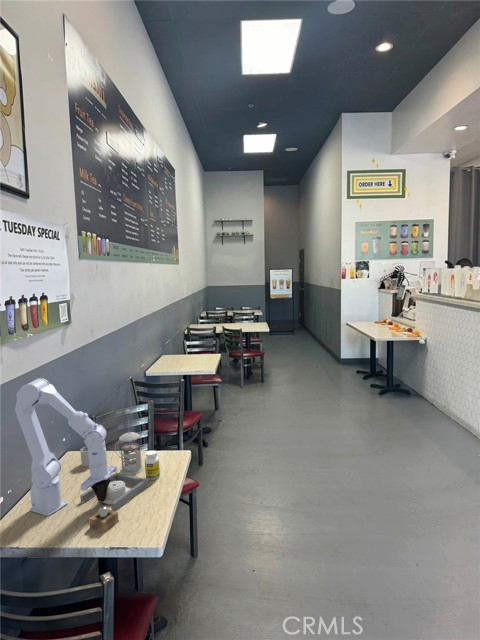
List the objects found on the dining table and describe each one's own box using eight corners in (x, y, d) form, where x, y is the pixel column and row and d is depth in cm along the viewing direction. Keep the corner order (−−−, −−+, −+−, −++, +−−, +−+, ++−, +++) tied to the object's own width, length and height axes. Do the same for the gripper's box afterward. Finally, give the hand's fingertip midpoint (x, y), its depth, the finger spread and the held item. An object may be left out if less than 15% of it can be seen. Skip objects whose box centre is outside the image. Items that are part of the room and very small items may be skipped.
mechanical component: (94, 500, 139) (112, 507, 134) (93, 488, 139) (111, 495, 133) (117, 487, 147) (135, 493, 142) (116, 475, 147) (134, 482, 141)
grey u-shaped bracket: (80, 502, 138) (80, 495, 137) (116, 479, 153) (115, 472, 153) (114, 511, 131) (113, 503, 131) (148, 485, 147) (147, 479, 146)
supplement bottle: (146, 481, 150) (144, 456, 149) (145, 475, 155) (143, 451, 154) (160, 478, 151) (158, 454, 151) (159, 472, 157) (157, 448, 156)
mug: (92, 467, 165) (91, 452, 164) (78, 466, 166) (76, 451, 166) (105, 457, 174) (104, 442, 174) (92, 456, 176) (91, 442, 175)
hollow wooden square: (89, 527, 122) (89, 518, 122) (104, 517, 128) (103, 508, 128) (104, 532, 120) (103, 522, 120) (118, 521, 125) (117, 512, 125)
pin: (98, 525, 123) (97, 509, 123) (104, 521, 125) (103, 504, 125) (104, 527, 122) (103, 510, 122) (110, 523, 124) (108, 506, 124)
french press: (136, 476, 154) (130, 414, 152) (110, 473, 158) (105, 412, 156) (149, 465, 164) (144, 406, 161) (125, 463, 167) (120, 405, 165)
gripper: (90, 473, 127) (94, 514, 128) (122, 455, 140) (125, 492, 141) (74, 470, 130) (78, 510, 131) (107, 452, 143) (110, 488, 144)
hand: (101, 500), depth 136 cm, fingers closed
